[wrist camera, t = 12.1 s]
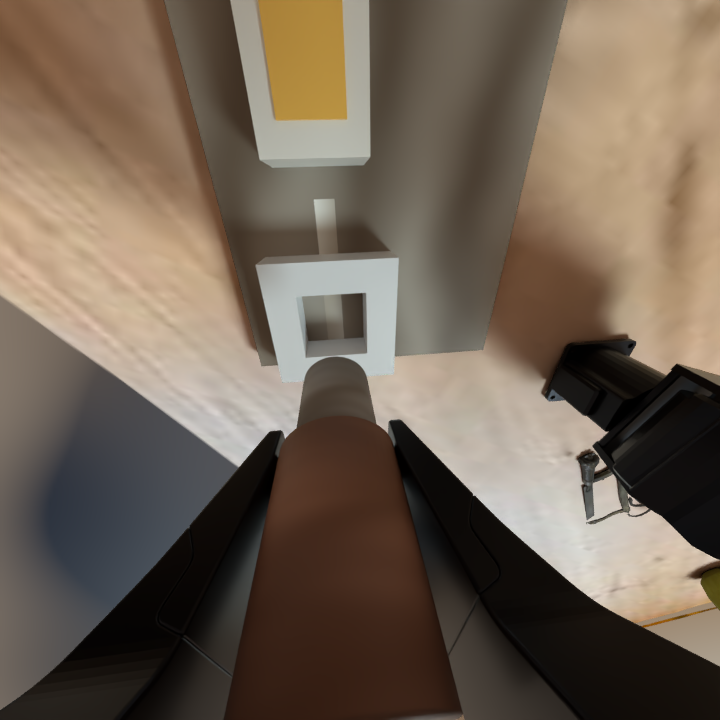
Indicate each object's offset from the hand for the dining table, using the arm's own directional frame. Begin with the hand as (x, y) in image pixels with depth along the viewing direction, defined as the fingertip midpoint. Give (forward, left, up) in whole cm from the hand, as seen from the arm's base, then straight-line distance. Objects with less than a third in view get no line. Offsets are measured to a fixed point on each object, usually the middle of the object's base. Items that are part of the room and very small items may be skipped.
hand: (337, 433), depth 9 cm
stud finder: (0, -12, -12) cm, 17 cm away
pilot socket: (0, 0, -12) cm, 12 cm away
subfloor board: (-3, -7, -13) cm, 15 cm away
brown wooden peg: (0, 0, -3) cm, 3 cm away
